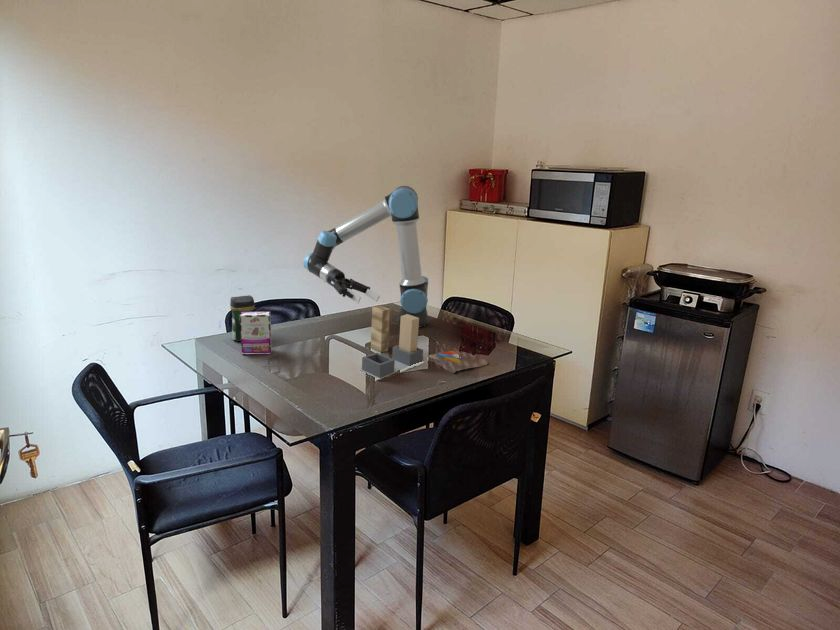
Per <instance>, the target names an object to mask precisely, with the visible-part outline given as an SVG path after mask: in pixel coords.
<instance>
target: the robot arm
mask: <svg viewBox="0 0 840 630" xmlns="http://www.w3.org/2000/svg"><path fill="white" fill-rule="evenodd" d="M418 203H419V198H418V194H417V191H416V190H415V189H414V188H413V187H411V186H408V185H401V186H399V187H396V188H395V189H394V190H393V191H392V192H391V193H389V194H388V195H386V196H384V197H383V200H382V201H380V202H378V203H376V204H374V205H372V206H371V207H369V208H368V209H365V210H363V211H362V212H360V213H359V214H356V215H355V216H353V217H352V218H349V219H348V220H346V221H345V222H342V223H341V224H339V225H337V226H336V227H333V228H332V229H329V230H322V231H320V233H319V235H318V236H317V241H316V243H315V246H314V248H313V252H310V253H308V254H306V256H305V257H304V258H303V262H302V265H303V267H304V268H305V269H306V270H307V271H308V272H309V273H310V274H313V275H314V276H316V277H318V278H319V279H321V280H323V282H324V283H326V284H328V285H330V286H331V287H332V288H334V290H335V291H336V292H337V293H338V294H339V295H340V296H342V297H343V298H345V297H348V298H349V299H351V300H352V301H353V302H355V303H356V304H360V301H361V299H362V297H361V296H360V295H358V294H357V293H356V292H360V293H363V294H364V295H365V296H367V297H369V299H372V300H373V301H374V302H377V303H378V301H379V299H380V295H378V294H377V293H376V292H374V291H373V290H371V287H370V286H367V285H365V284H363V283H362V282H361V283H360V282H359V281H356V280H355V279H352V278H346V276H345V275H346V274H345V273H344V272H343V271H342V270H340V269H338V268H337V267H335V266H334V265H332V264H331V263H329V260H330V257H331V254H332V253H333V250H335V248H336V247H337V246H340V244H343V243H344V242H346V241H348V240H349V239H351V238H353V237H355V236H357V235H359V234H361V233H362V232H365V231H366V230H368V229H369V228H372V227H373V226H376V225H377V224H380V223H381V222H382V221H385V220H386V219H388V218H390V217H391V222H392V223H393V224H394V225H395V227H396V234H397V235H396V236H397V245H398V253H399V254H398V255H399V263H400V270H401V280H400V282H399V284H398V285H399V290H400V291H399V292H400V299H399V300H400V301H399V302H400V304H401V308H400V310H399V313H398V315H397V319H396V322H397V321H398V322H397V324H398V323H400V320H401V316H403V315H406V314H409V315H412V316H415V317H418V318H419V326H424V325H427V324H428V323H429V324H430V318H429V315H428V310H427V305H428V302H429V301H428V300H429V299H428V287H429V278H428V277H427V276H424V275H422V267H421V258H420V257H421V256H420V251H419V250H420V249H419V248H420V247H419V240H418V239H419V238H418V230H417V223H418V221H419V219H420V216H419V215H420V214H419V204H418ZM352 290H354V291H356V292H354V291H352ZM429 324H428V325H429ZM428 325H427V326H428Z"/></svg>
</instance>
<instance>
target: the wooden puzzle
mask: <svg viewBox="0 0 840 630" xmlns="http://www.w3.org/2000/svg"><path fill="white" fill-rule="evenodd" d="M436 354H437V356H436ZM427 357H430V358H433V359H438V358H439V357H441V358H443V359H446V360H449V361H451V362H454V363H461V362H459V361H460V360H459V359H457V358H459V355H458V354H456V352H454V350H449V351H441V352H439V351H438V352H437V353H433V354H429V355H427ZM460 358H461V357H460ZM438 360H439V359H438Z"/></svg>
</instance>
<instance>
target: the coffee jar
mask: <svg viewBox="0 0 840 630" xmlns="http://www.w3.org/2000/svg"><path fill="white" fill-rule="evenodd" d="M255 305H256V304H255V299H254V297H253V296H252V295H249V294H248V295H240V296H231V297H230V301H229V307H230V310H231V313H232V314H231V315H232V320H231V321H232V323H231V325H232V326H231V338H232V340H233V341H234V340H236V341H235V342H237V341H241V325H240V315H241V312H255V311H254V310H255V307H256V306H255Z"/></svg>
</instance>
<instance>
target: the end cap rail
mask: <svg viewBox="0 0 840 630" xmlns="http://www.w3.org/2000/svg"><path fill="white" fill-rule="evenodd" d="M418 340H419V318H418V317H415V316H412V315H409V314H406V315H403V316H401V320H400V324H399V339H398V345H395V346H393V347H392V350H391V351H392V354H391V357H388V356H387V355H385V354H382V353H380V352H374V353H371V354H368V355H365V356H362V358H361V369H359V372H360V371H361V372H364V373H367V374H368V375H371V376H373V377H376V378H383V377H385V376H388V375H390V374H393V373H395V372H397V371H398V370H401V369H404V368H406V367H408V366H411V365H413V364H416V363H419V362H422V361H424V360H423V359H424V349H423V348H421V347H418Z"/></svg>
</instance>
